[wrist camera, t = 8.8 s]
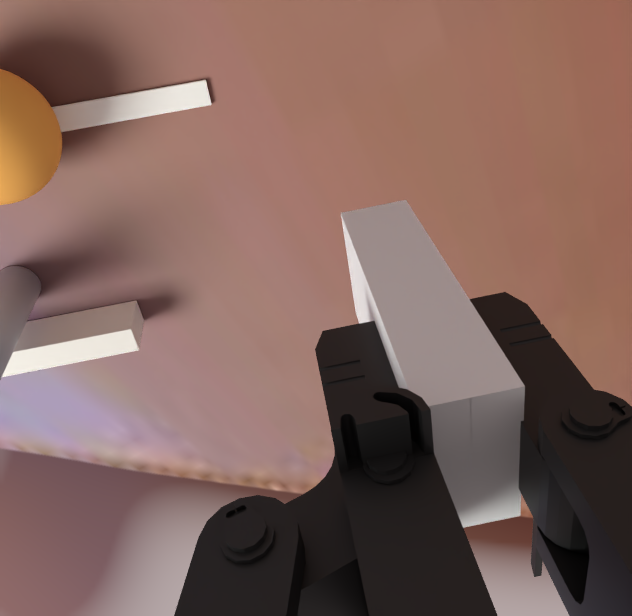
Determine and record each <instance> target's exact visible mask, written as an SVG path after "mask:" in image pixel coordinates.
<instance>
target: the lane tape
mask: <svg viewBox="0 0 632 616" xmlns="http://www.w3.org/2000/svg"><path fill="white" fill-rule="evenodd" d="M208 105H211V100H210V95H209V91H208V87H207V82H206V79H205V80H199V81H194V82H188V83H183V84H177V85H172V86H166V87H161V88H155V89H150V90H144V91H138V92H133V93H127V94H122V95H116V96H111V97H105V98H100V99H94V100H89V101H83V102H77V103H72V104H66V105H61V106H55V107H51V108H52V109H53V111H54V113H55V115H56V117H57V120H58V122H59V125H60V130H61V132H65V131H71V130H76V129H82V128H87V127H93V126H98V125H104V124H109V123H115V122H120V121H126V120H131V119H137V118H142V117H148V116H153V115H159V114H164V113H170V112H175V111H181V110H186V109H191V108H197V107H202V106H208Z"/></svg>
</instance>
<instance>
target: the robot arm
mask: <svg viewBox="0 0 632 616" xmlns="http://www.w3.org/2000/svg"><path fill="white" fill-rule="evenodd" d="M341 218H342V225H343V231H344V238H345V244H346V251H347V257H348V264H349V271H350V277H351V284H352V290H353V297H354V304H355V310H356V314H357V317H358V321H359V324H355V325H350V326H345V327H340V328H335V329H330V330H326V331H323V332H322V334H321V337H320V339H319V342H318V344H317V346H316V349H315V351H316V356H317V361H318V366H319V371H320V376H321V381H322V386H323V391H324V396H325V400H326V405H327V410H328V415H329V420H330V425H331V432H332V437H333V442H334V446H335V457H334V460H333V464H332V467H331V468H330V470H329V472H328V473H327V475H326V477H325V478H324V479H323V480H322V481H321V482H320V483H319V484H318V485H317V486H316V487H314V488H313V489H311V490H309V491H308V492H306V493H305V494H303V495H301V496H299V497H297V498H296V499H294V500H292V501H290V502H288V503H286V504H284V503H282V502H281V501H279V500H277V499H276V498H271V497H265V496H259V495H256V496H251V497H245V498H239V499H237V500H236V501H233V502H231V503H229V504H227V505H225V506H223V507H221V508H220V509H219V510H218V511H217V512H216V513H215V514H214V515H213V516H212V517H211V518H210V519H209V520H208V521H207V523H206V525H205V526H204V528H203V530H202V532H201V534H200V536H199V538H198V541H197V544H196V547H195V551H194V554H193V557H192V560H191V563H190V567H189V570H188V573H187V576H186V579H185V583H184V586H183V589H182V593H181V595H180V599H179V602H178V605H177V609H176V612H175V615H174V616H497V613H496V611H495V608H494V606H493V603H492V600H491V598H490V595H489V593H488V590H487V588H486V585H485V583H484V580H483V577H482V575H481V572H480V570H479V567H478V565H477V562H476V559H475V557H474V554H473V552H472V549H471V547H470V544H469V541H468V539H467V536H466V534H465V531H464V529H463V528H464V527H468V526H473V525H478V524H483V523H488V522H492V521H497V520H502V519H507V518H512V517H516V516H520V509H521V494H522V496H523V498H524V500H525V502H526V504H527V506H528V508H529V509H530V511H531V513H532V515H533V536H532V553H531V554H532V555H531V565H532V569H533V573H534V577H536V576H541V571H542V560H543V562H544V564H545V566H546V568H547V570H548V572H549V575H550V577H551V579H552V581H553V583H554V585H555V587H556V589H557V591H558V593H559V595H560V597H561V599H562V601H563V603H564V605H565V607H566V609H567V611H568V613H569V615H570V616H632V407H631V406H630V405H629V404H628V403H627V402H626V401H624V400H623V399H621V398H618V397H616V396H614V395H612V394H609V393H607V392H604V391H598V390H594V389H593V388H592V387H591V385H590V384H589V383H588V381H587V380H586V379H585V378H584V376H583V375H582V374H581V372H580V371H579V370H578V369H577V367H576V366H575V365H574V364H573V362H572V361H571V360H570V358H569V357H568V356H567V355H566V353H565V352H564V351H563V349H562V348H561V347H560V346H559V344H558V343H557V342H556V341H555V339H554V338H553V339H552V338H551V334H550V333H549V332H548V330H547V329H546V328H545V326H544V325H543V324H542V325H541V323H540V320H539V319H538V318H537V316H536V315H535V314H534V312H533V311H532V310H531V309H530V307H529V306H528V305H527V304H526V303H524V302H522V301H520V300H519V299H517V298H515V297H513V296H511V295H510V294H508V293H506V292H503V293H498V294H493V295H488V296H483V297H478V298H473V299H469V298H468V296H467V295H466V293H465V292H464V290H463V289H462V287H461V285H460V284H459V282H458V281H457V279H456V278H455V276H454V274H453V273H452V271H451V270H450V268H449V267H448V265H447V263H446V262H445V260H444V259H443V257H442V256H441V254H440V253H439V251H438V249H437V248H436V246H435V245H434V243H433V242H432V240H431V238H430V237H429V235H428V234H427V232H426V231H425V229H424V227H423V226H422V224H421V223H420V221H419V220H418V218H417V217H416V215H415V213H414V212H413V210H412V209H411V207H410V206H409V204H408V202H407V201H406V200H403V201H398V202H393V203H388V204H383V205H378V206H373V207H368V208H363V209H358V210H353V211H348V212H343V213H341Z"/></svg>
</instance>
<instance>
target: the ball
mask: <svg viewBox="0 0 632 616" xmlns="http://www.w3.org/2000/svg"><path fill="white" fill-rule="evenodd" d="M61 153H62V135H61V130H60V125H59V122H58V120H57V117H56V115H55V113H54V111H53V109H52V108H51V106H50V104H49V103H48V102H47V100H46V99H45V98H44V97H43V95H42V94H41V93H40V92H39V91H38V90H37V89H36V88H35V87H33V86H32V85H31V84H30V83H28V82H27V81H25V80H24V79H22V78H20V77H19V76H17V75H15V74H13V73H11V72H8V71H6V70H3V69H0V205H4V204H11V203H15V202H19V201H22V200H24V199H27V198H29V197H30V196H32V195H34V194H36V193H37V192H38V191H40V190H41V189H42V188H43V187H44V186H45V185H46V184H47V183H48V182H49V181H50V179H51V178H52V177H53V175H54V173H55V171H56V170H57V167H58V165H59V162H60V158H61Z"/></svg>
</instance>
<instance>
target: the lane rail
mask: <svg viewBox="0 0 632 616" xmlns="http://www.w3.org/2000/svg"><path fill="white" fill-rule="evenodd" d="M143 324H144V319H143V316H142V314H141V311H140V308H139V306H138V303H137V300H136V301H131V302H126V303H120V304H115V305H110V306H105V307H100V308H95V309H89V310H84V311H79V312H74V313H69V314H64V315H58V316H53V317H48V318H43V319H38V320H33V321H27V322H26V325H25V327H24V329H23V331H22V333H21V336H20V338H19V340H18V342H17V344H16V347H15V349H14V351H13V353H12V355H11V358H10V360H9V362H8V364H7V366H6V369H5V371H4V373H3V375H2V377H5V376H10V375H16V374H21V373H26V372H31V371H36V370H41V369H46V368H51V367H56V366H61V365H66V364H71V363H76V362H82V361H87V360H92V359H97V358H102V357H107V356H112V355H117V354H122V353H127V352H132V351H137V350H139V347H140V341H141V336H142V330H143Z"/></svg>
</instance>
